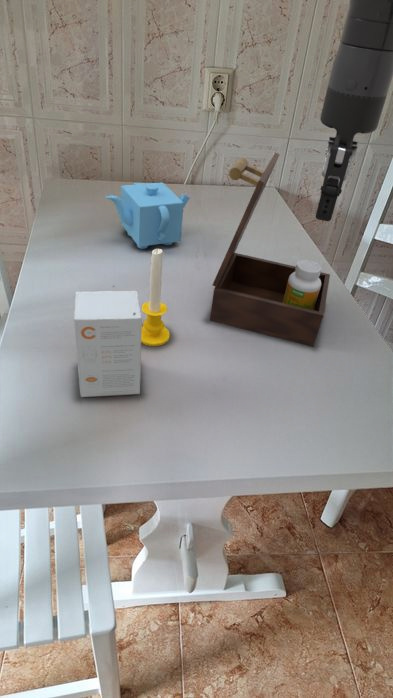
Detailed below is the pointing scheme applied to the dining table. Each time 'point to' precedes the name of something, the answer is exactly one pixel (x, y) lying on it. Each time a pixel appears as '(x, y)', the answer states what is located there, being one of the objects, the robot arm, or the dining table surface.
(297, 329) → the chest
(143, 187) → the teapot
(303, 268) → the supplement bottle
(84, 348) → the small box
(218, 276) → the lid
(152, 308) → the candle
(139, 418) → the dining table surface
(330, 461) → the dining table surface
